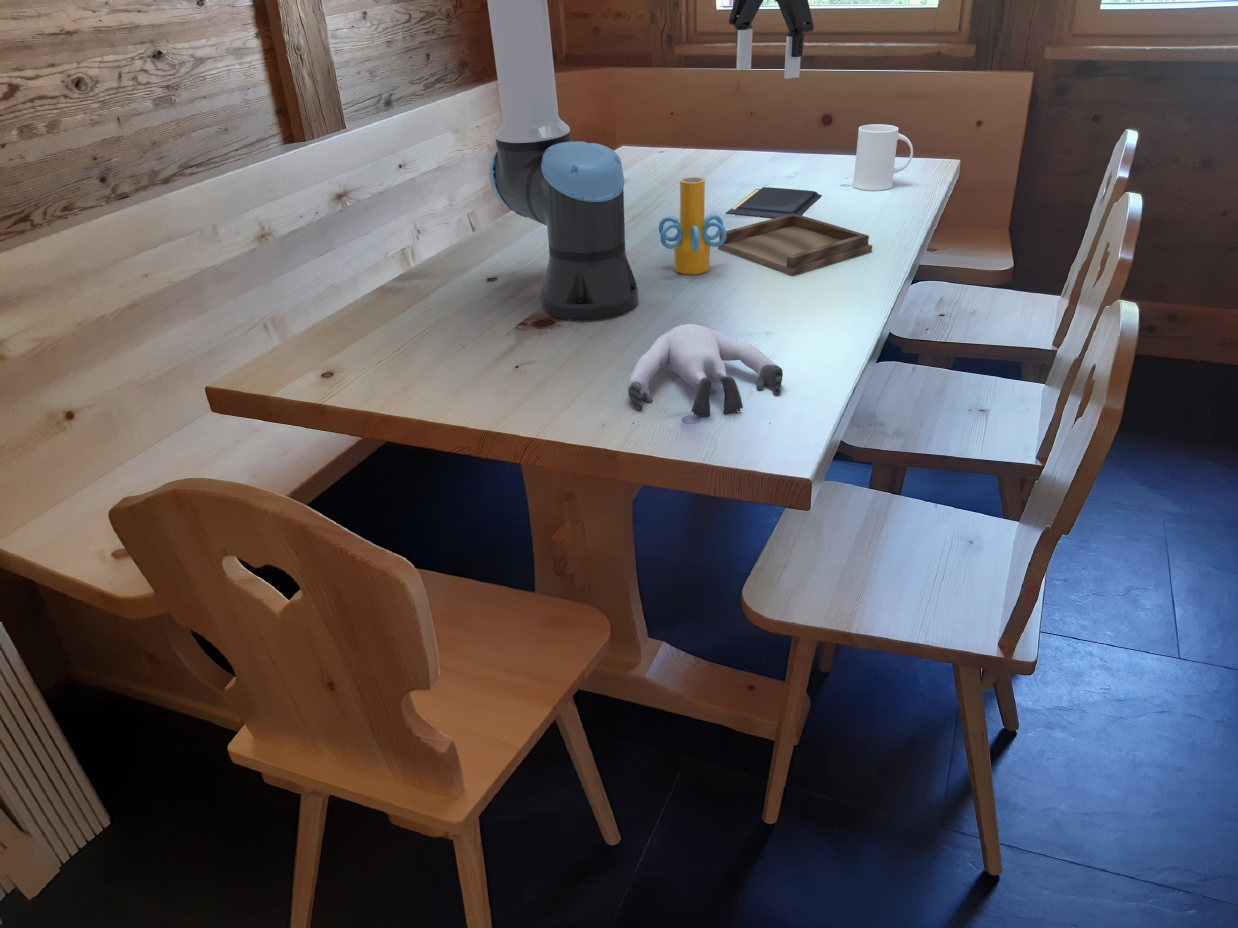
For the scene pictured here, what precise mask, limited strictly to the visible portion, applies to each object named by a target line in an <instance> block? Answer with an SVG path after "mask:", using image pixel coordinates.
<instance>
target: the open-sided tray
mask: <svg viewBox="0 0 1238 928" xmlns="http://www.w3.org/2000/svg"><path fill="white" fill-rule="evenodd" d="M721 237H722V233H721V234H720V235H719V237H718V238H719V240H718V241H720V239H721ZM869 239H870V235H869V234H866V233H862V232H859V231H855V230H851V229H848V228H844V227H841V226H838V225H834V224H832V223H828V222H826V221H821V220H818V219H815V218H811V217H809V216H804V215H798V214H795V213H793V214H789V215H785V216H781V217H778V218H774V219H770V218H769V219H766V220H764V221H760V222H755V223H751V224H748V225H745V226H740V227H737V228H733V229H728V230H726V240H725V242H724V243H723V244H722V245H721V246H718V247H717V250H720V251H723V252H725V253H728V254H731V255H733V256H734V255H735V256H736V257H738V258H739V257H740V258H742V259H745V260H748V261H751V262H753V263H756V264H758V265H761V266H764V267H766V268H770V269H772V270H774V271H778V272H780V273H783V274H786V275H788V276H791V277H795V276H798V275H801V274H804V273H808V272H810V271H814V270H817V269H822V268H823V267H827V266H830V265H834V264H837V263H840V262H843V261H847V260H849V259H853V258H856V257H860V256H864V255H867V254H869V253H872V251H873V244H871V243H869Z"/></svg>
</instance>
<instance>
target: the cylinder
mask: <svg viewBox="0 0 1238 928" xmlns="http://www.w3.org/2000/svg"><path fill="white" fill-rule="evenodd" d="M705 182H706V181H705V178H703V177H699V176H688V177H683V178H681V179H679V219H677V218H676V217H674V216H664V217H663V218H662V219H661V220H660V221H659V224H658V231H659V232H658V233H659V235H660V242H661V245H662V246H663V247H665V249H669V250H673V253H674V254H673V257H674V258H673V259H674V263H673V267H674V271H675V272H676V273H678V274H683V275H687V276H690V275H691V276H694V275H700V274H701V275H702V274H705V273H706V272H708V271H709V270H710V265H711V264H710V261H711V259H710V258H711V257H710V253H711V251H710V250H711V247H712V248H718V246H721V245H722V244H723V243H724V242H725V240H726V231H727V230H726V228H725V226H724V222H723V219H722V217H721V216H719V215H717V214H711V215H709V216H707V217H706V218H705V196H706V195H705V191H706V190H705V186H706V185H705ZM667 222H671V223H669V224H667V225H665V224H666V223H667ZM711 227H716V228H717V230H716V232H715V233H714V234H711V235H710V234H708V230H709V229H710V228H711ZM670 229H676V234H675V235H674V236H669V235H667V233H668V232H669V230H670ZM721 233H722V237H721V239H720V241H719V240H718V241H714V240H716V239H718V238H719V235H720V234H721ZM668 242H673V243H668Z"/></svg>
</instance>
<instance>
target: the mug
mask: <svg viewBox="0 0 1238 928" xmlns="http://www.w3.org/2000/svg"><path fill="white" fill-rule="evenodd" d="M857 132H858V134H857V141H856V142H857V144H856V153H855V155H856V157H855V165H854V173H853V174H854V175H853V181H852V183H851V184H852V185H851V186H852V187H853V188H855V189H857V190H861V191H865V192H866V191H869V192H879V191H880V192H881V191H888V190H890V189H892V188H893V187H894V174H898V173H899V172H902V171H904V170H905V169H906V168H907V167H908V166H909V165H910V163H911V162H912V159H913V155H914V148H913V144H912V142H911V141H910V139H909V138H908V137H907V136H906V135H904V134H901V133H900V132H899V127H898V126H896V125H890V124H884V123H883V124H878V123H877V124H876V123H875V124H873V123H872V124H864V125H860V126H859V127H858V131H857ZM898 140H899V141H903V142H906V144H907V145H908V147H909V149H910V154H909V157H908V160H907V161H906V163H904V164H903V165H901V166H899V167H895V163H896V156H897V155H896V154H897V153H896V152H897V146H898Z"/></svg>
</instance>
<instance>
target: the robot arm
mask: <svg viewBox="0 0 1238 928" xmlns="http://www.w3.org/2000/svg"><path fill="white" fill-rule="evenodd" d="M486 1H487V7H488V8H487V9H488V16H489V21H490V22H489V25H490V30H491V31H490V32H491V38H492V46H493V53H494V61H495V70H496V75H497V76H496V77H497V83H498V90H499V91H498V92H499V98H500V100H499V101H500V106H501V113H502V125H501V126H500V127H499V129H498V130H497V131H496V133H495V144H496V149H495V150H494V154H493V155H492V156H491V157H490V160H489V161H490V163H489V169H488V173H489V175H488V176H489V182H490V185H491V188H492V190H493V192H494V194H495V196H496V197H497V199H498V200H499V201H500V203H502V204H503V205H504V206H505V207H507V208H508V209H509V210H511V211H512V212H514V213H515V214H516V215H519V216H521V217H523V218H529V219H530V220H533V221H535V222H537V223H539V224H542V225H544V226H546V227H547V239H548V240H547V241H548V251H549V252H548V253H549V259H548V263H547V267H546V272H545V275H544V281H543V285H542V288H541V294H540V295H541V305H542V309H543V310H544V312H546V313H547V314H549V315H550V316H552V317H555V318H558V319H562V320H567V321H568V320H569V321H575V322H576V321H578V322H579V321H582V322H585V321H588V322H589V321H590V322H591V321H603V320H607V319H613V318H616V317H619V316H622V315H624V314H628V313H629V312H632V311H633V310H634V309H635V308H636V307H637V305H638V303H639V288H638V284H637V282H636V279H635V276H634V274H633V273H634V272H633V271H632V268H631V265H630V263H629V260H628V257H627V253H626V230H625V228H626V227H625V225H626V224H625V197H624V196H625V195H624V193H625V192H624V187H625V177H624V173H623V171H624V170H623V165H622V164H623V163H622V160H621V158H620V156H619V154H618V153H617V152H616V151H615V150H613V149H611V148H610V147H608V146H605V145H603V144H600V143H596V142H591V143H590V142H589V143H588V142H586V141H572V140H571V139H572V137H571V128H570V126H569V125H568V124H567V123H566V122H565V121H563V120H562V119H561V118H560V116H559V107H558V97H557V86H556V85H557V84H556V76H555V75H556V74H555V68H554V58H553V57H554V56H553V55H554V54H553V47H552V37H551V27H550V18H549V8H548V0H486ZM774 1H775V2H776V3H777V5H778V8H779V10H780V12H781V15H782V17H783V19H784V22H785V24H786V27H787V30H788V33H787V34H786V35H787V36H786V37H785V38H786V40H785V41H786V42H785V57H784V58H785V60H784V75H783V78H784V79H794V78H795V79H796V78H800V74H801V73H800V72H801V58H802V56H803V51H804V50H803V49H804V37H805V35H806V34H808V33H810V32H811V33H812V32H813V31H814V29H815V27H814V22H813V17H812V13H811V9H810V4H809V3H810V2H809V0H774ZM763 2H764V0H734V2H733V6H732V9H731V11H730V14H729V18H728V24H729V25H730V26H734V28H735V30H736V37H735V38H736V40H735V41H736V43H735V44H736V45H735V46H736V70H737V71H741V70H742V71H743V70H751V69H752V50H753V47H752V46H753V32H754V31H753V29H752V28H753V26H752V23H753V20H754V18H755V17H756V15H757V13H758V11H759V9H760V7H761V6H762V4H763Z"/></svg>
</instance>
